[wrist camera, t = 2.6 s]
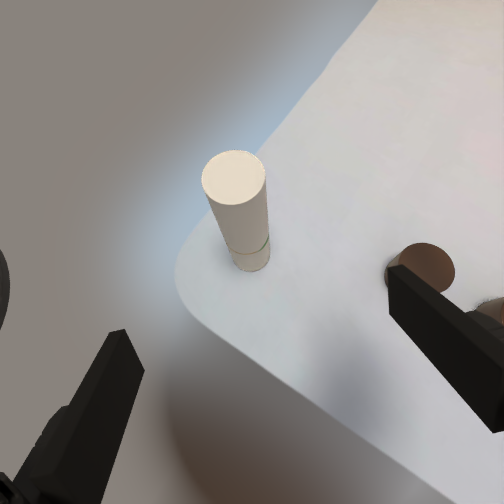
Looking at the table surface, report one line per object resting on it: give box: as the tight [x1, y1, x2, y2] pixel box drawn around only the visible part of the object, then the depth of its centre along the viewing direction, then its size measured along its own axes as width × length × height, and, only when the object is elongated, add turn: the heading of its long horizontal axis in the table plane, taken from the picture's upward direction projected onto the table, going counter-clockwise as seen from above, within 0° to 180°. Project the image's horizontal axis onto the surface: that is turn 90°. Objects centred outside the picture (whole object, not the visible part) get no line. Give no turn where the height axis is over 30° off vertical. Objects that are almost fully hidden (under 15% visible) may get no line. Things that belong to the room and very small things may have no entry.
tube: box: [202, 150, 270, 272], centre depth 27 cm, size 4×4×15 cm
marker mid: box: [385, 243, 455, 293], centre depth 30 cm, size 5×5×4 cm
